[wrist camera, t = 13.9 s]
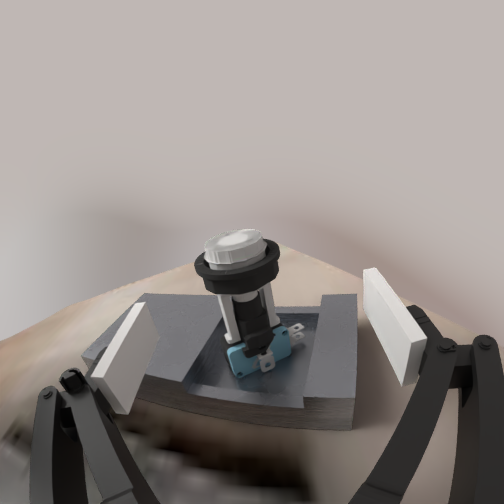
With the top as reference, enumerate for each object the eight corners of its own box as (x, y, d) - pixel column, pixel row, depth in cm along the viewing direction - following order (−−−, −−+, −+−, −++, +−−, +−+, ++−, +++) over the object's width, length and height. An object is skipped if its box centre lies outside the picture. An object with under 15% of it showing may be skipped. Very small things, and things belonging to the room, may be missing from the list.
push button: (287, 324, 25) (270, 214, 21) (323, 357, 21) (312, 230, 17) (217, 354, 23) (182, 241, 19) (242, 396, 18) (202, 267, 15)
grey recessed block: (99, 384, 23) (80, 355, 21) (154, 320, 32) (144, 293, 31) (351, 430, 15) (355, 397, 14) (356, 327, 25) (356, 293, 24)
